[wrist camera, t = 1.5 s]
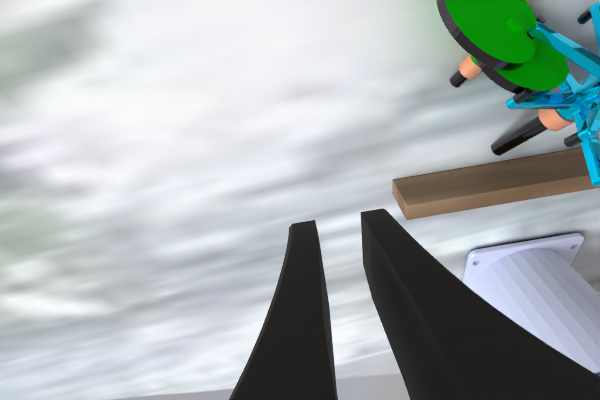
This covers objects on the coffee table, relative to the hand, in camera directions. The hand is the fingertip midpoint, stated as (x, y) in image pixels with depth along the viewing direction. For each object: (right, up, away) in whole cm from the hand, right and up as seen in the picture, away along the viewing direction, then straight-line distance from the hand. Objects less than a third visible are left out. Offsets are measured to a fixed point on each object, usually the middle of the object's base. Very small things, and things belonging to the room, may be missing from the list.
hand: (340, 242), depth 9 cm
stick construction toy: (+9, +8, +8) cm, 14 cm away
